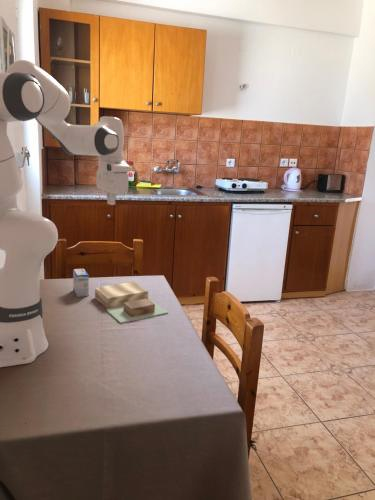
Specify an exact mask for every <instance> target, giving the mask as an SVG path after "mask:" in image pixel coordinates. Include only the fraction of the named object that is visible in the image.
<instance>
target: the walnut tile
mask: <svg viewBox="0 0 375 500" xmlns="http://www.w3.org/2000/svg"><path fill="white" fill-rule="evenodd" d="M151 301H152V300H150V299H149V298H148V299H147V298H146V299H141V300H136V301H130V302H125V303H124V307H123V311H124V312H125V313H127V314H128V315H129V316H130V317H134V316H139V315H144V314H149V313H154V312H155V304H154V303H152V302H151Z"/></svg>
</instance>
